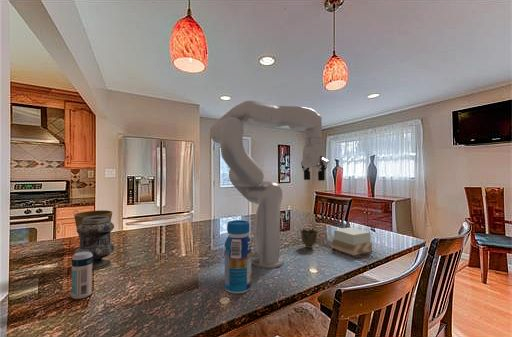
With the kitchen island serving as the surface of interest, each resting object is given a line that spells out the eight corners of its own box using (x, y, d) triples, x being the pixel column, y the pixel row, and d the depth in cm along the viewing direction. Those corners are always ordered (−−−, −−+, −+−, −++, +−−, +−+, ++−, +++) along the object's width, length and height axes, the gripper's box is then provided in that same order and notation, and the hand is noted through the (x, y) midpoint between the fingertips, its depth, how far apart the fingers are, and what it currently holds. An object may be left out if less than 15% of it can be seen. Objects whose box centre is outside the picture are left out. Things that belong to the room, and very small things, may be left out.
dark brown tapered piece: (315, 245, 118) (315, 229, 118) (318, 250, 111) (318, 232, 111) (300, 245, 119) (300, 228, 119) (301, 250, 112) (301, 232, 112)
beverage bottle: (218, 287, 75) (218, 221, 75) (239, 279, 80) (239, 218, 81) (236, 297, 69) (236, 226, 69) (257, 288, 74) (257, 222, 75)
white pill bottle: (95, 291, 72) (96, 250, 72) (84, 300, 67) (85, 256, 67) (78, 292, 71) (79, 250, 72) (66, 300, 67) (67, 256, 67)
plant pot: (71, 246, 114) (72, 212, 115) (108, 240, 124) (108, 209, 125) (75, 254, 103) (76, 216, 104) (115, 247, 113) (115, 213, 113)
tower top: (353, 245, 105) (353, 235, 105) (334, 239, 115) (334, 229, 115) (370, 242, 110) (370, 232, 111) (350, 236, 120) (350, 227, 120)
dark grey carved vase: (116, 258, 99) (116, 213, 100) (110, 269, 88) (111, 219, 88) (80, 262, 95) (81, 215, 95) (70, 274, 84) (71, 221, 84)
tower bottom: (353, 256, 105) (353, 245, 105) (332, 248, 115) (332, 239, 115) (371, 252, 110) (371, 242, 110) (350, 245, 121) (350, 236, 121)
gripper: (295, 143, 116) (295, 179, 116) (320, 139, 101) (320, 181, 101) (307, 144, 120) (308, 179, 120) (333, 140, 105) (334, 180, 104)
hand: (314, 180), depth 110 cm, fingers open, 9 cm apart
